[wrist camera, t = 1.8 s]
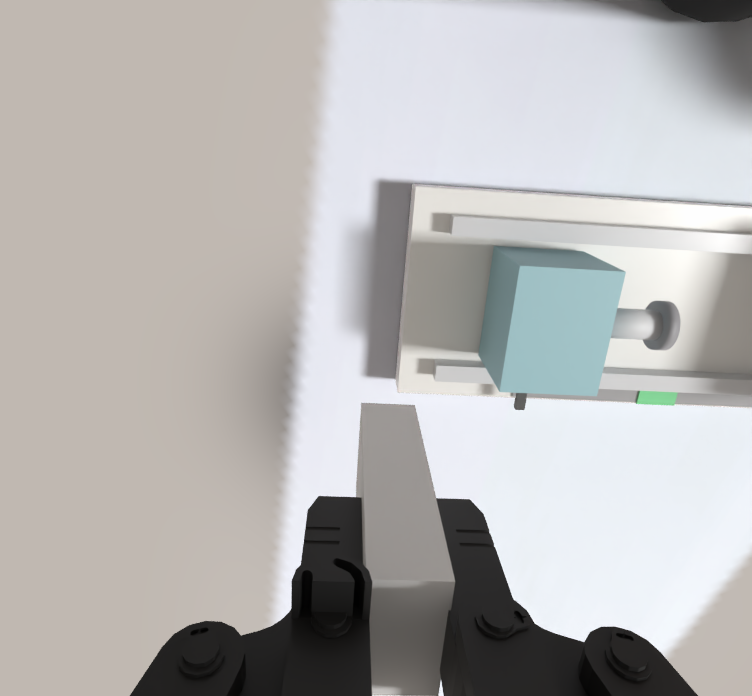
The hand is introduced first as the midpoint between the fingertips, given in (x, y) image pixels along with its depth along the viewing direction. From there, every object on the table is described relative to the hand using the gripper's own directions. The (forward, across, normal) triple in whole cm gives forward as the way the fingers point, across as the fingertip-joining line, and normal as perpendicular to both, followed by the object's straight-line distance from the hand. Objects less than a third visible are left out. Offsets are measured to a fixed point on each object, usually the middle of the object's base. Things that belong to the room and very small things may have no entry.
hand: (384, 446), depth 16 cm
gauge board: (+18, +16, 0) cm, 24 cm away
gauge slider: (+16, +11, -1) cm, 19 cm away
